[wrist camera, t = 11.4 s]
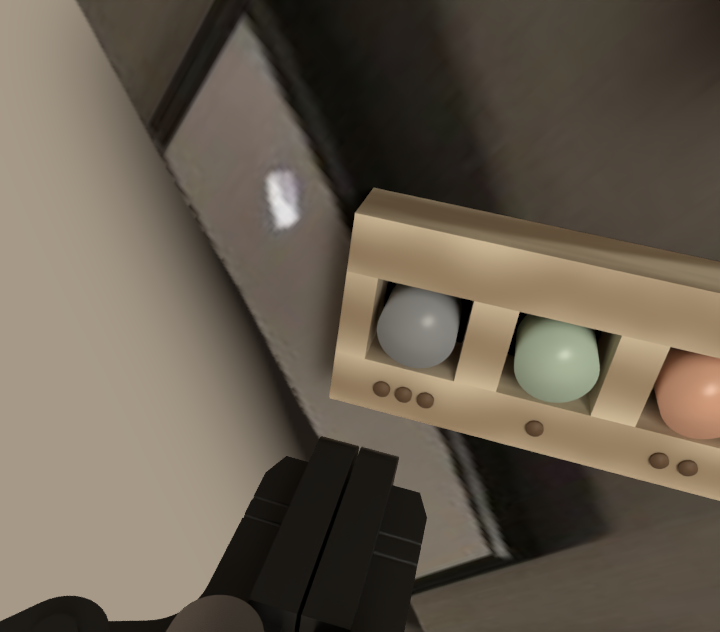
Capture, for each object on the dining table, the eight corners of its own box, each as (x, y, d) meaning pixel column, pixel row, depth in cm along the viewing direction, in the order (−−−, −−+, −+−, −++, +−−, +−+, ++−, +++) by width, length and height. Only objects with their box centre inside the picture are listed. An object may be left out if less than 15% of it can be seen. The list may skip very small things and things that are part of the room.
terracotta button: (667, 328, 33) (677, 359, 31) (750, 348, 33) (768, 381, 30) (639, 392, 35) (646, 426, 33) (718, 411, 35) (732, 448, 32)
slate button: (395, 265, 35) (383, 290, 33) (469, 283, 35) (463, 309, 32) (383, 329, 37) (371, 357, 35) (453, 347, 37) (447, 376, 34)
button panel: (373, 187, 35) (354, 214, 31) (819, 283, 32) (854, 324, 28) (347, 360, 40) (328, 400, 37) (724, 456, 37) (743, 509, 34)
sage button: (527, 296, 34) (525, 323, 32) (606, 314, 34) (611, 344, 31) (508, 360, 36) (505, 391, 34) (582, 378, 36) (585, 411, 33)
